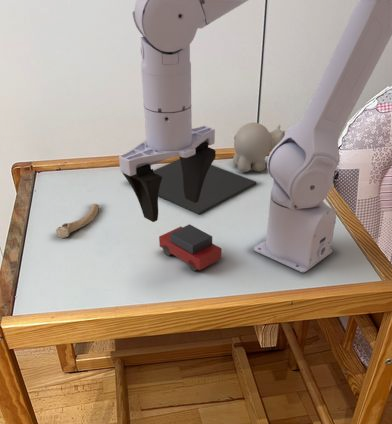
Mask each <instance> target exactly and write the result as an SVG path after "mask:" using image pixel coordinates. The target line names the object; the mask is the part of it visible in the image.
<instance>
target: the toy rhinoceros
mask: <svg viewBox="0 0 392 424" xmlns="http://www.w3.org/2000/svg"><path fill="white" fill-rule="evenodd" d="M285 134H286V131H285V130H281V124H279V125H278V126H277V127H276V129H275V130H272V131H269V130H268V128H267V127H266V126H265V125H263V124H262V123H259V122H248V123H245V124H244V125H242V126H241V127H240V128H239V129H238V130H237V132H236V134H235V135H234V136H233V146H234V147H233V148H234V151H235V153H234V154H233V158H232V163H233V164H234V165H235V166H237V170H238V172H242V173H247V172H250V170H251V169H252V170H253V171H254V172H263V171H265V169H266V157H267V156H269V154H270V152H271V151H272V149H273V148H274V147H275V146H276V145H277V144H278V143H279V142H280V141H281V140H282V139H283V137H284V136H285Z"/></svg>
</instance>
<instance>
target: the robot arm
mask: <svg viewBox="0 0 392 424" xmlns="http://www.w3.org/2000/svg"><path fill="white" fill-rule="evenodd" d="M248 1H249V0H135V3H134V10H133V11H132V13H131V14H132V19H133V22H134V25H135V28H136V29H137V31H138V32H139V34H141V35H142V36H141V37H140V55H141V63H140V69H141V85H142V86H141V87H142V98H143V114H144V127H145V128H144V130H145V140H143V141H141V143H139V144H138V145H136V146H135V147H133V148H132V149H131V150H129V151H128V152H125V153H123V154H120V155H119V156H118V162H119V170H120V172H121V173H122V175H123V176H124V177H125V179H126V181H127V182H128V183H130V184H129V185H130V186H131V188H132V191H133V192H134V193H135V197H136V198H137V201H138V203H139V206H140V209H141V212H142V215H143V218H145V219H146V220H148V221H150V222H152V223H155V222H157V221H158V219H159V196H158V193H159V187H160V183H161V180H162V177H161V176H160V175H157V174H155V173H153V171H154V169H153V168H152V166H153V165H156V164H158V163H161V162H165V161H166V160H169V159H174V158H179V159H180V161H181V166H182V172H183V186H184V195H185V198H186V199H188V200H190V201H192V202H194V203H196V202H198V200H199V197H200V193H201V189H202V186H203V182H204V179H205V176H206V174H207V172H208V170H209V168H210V166H211V165H213V163H214V161H215V159H216V153H217V152H216V149H214V148H211V147H209V146H212V145H214V144H215V141H216V140H215V136H216V130H215V128H213V127H210V126H207V125H201V126H197V127H193V125H192V121H193V120H192V119H193V118H192V64H191V49H190V48H191V44H192V42H193V41H194V39H195V37H196V34H197V31H198V29H203V28H206V26H208V25H210V24H212V23H213V22H215V21H216V20H218V19H220V18H222V17H223V16H225V15H226V14H228V13H230V12H232V11H233V10H235V9H237V8H239V7H240V6H241V5H243V4H245V3H246V2H248ZM391 37H392V0H357V1H356V4H355V5H354V8H353V10H352V12H351V14H350V16H349V19H348V20H347V22H346V25H345V26H344V29H343V31H342V33H341V35H340V38H339V39H338V41H337V43H336V45H335V47H334V50H333V52H332V54H331V57H330V59H329V60H328V63H327V65H326V67H325V69H324V71H323V73H322V75H321V78H320V80H319V82H318V84H317V85H316V89H315V90H314V92H313V94H312V96H311V98H310V101H309V103H308V104H307V107H306V110H305V111H304V114H303V116H302V118H301V119H300V120H299V121H298V122H295V123H294V124H293V125H291V126H289V127H288V128H287V130H286V131H285V136H284V137H283V139H282V140H281V141H280V142H279V143H278V144H277V145H276V146H275V147H274V148H273V149H272V151H269V153H268V157H267V160H266V168H267V172H268V175H269V176H270V177H271V178H272V180H273V181H272V187H271V191H270V197H269V207H268V217H267V229H266V236H265V237H266V238H265V240H263V241H262V242H260V243H259V244H257V245H255V246H254V247H253V251H254V252H256V253H258V254H261V255H263V256H265V257H267V258H269V259H271V260H273V261H276V262H278V263H280V264H282V265H284V266H287V267H289V268H291V269H293V270H295V271H297V272H300V273H303V274H304V273H306V272H308V271H309V270H310V269H312V268H313V267H315V266H316V265H317V264H318V263H320V262H321V261H322V260H324V259H325V258H326V257H328V256H330V255H331V254H332V253H333V249H332V247H331V246H332V242H333V236H334V231H335V227H336V222H337V213H336V210H335V209H333V208H332V207H330V206H329V205H327V204H326V203H325V202H324V200H326V198H327V197H328V196H329V195H330V193H331V191H332V188H333V185H334V177H335V176H334V175H335V172H336V169H337V168H338V166H339V163H340V162H341V161H340V159H341V157H340V148H339V137H340V135H341V133H342V132H343V130H344V127H345V126H346V123H347V122H348V120H349V118H350V116H351V114H352V112H353V111H354V108H355V107H356V104H357V102H358V101H359V99H360V97H361V95H362V93H363V91H364V89H365V87H366V85H367V83H368V81H369V80H370V78H371V76H372V75H373V72H374V70H375V68H376V66H377V64H378V63H379V61H380V59H381V57H382V54H383V53H384V51H385V49H386V47H387V46H388V44H389V42H390V40H391Z"/></svg>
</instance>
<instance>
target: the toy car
mask: <svg viewBox="0 0 392 424" xmlns="http://www.w3.org/2000/svg"><path fill="white" fill-rule="evenodd" d="M158 241H159V242H158V243H159V247H160V248H161V249H162V251H163V253H164V254H165V255H166V256H168V257H169V256H171V255H173V256H175V257H176V258H177V259H180V260H181V261H183V262H185V263H186V264H188V267H189V269H190V270H191V271H192V272H196V271H197V270H198V271H201V270H203V269H205V268H206V267H208V266H210V265H212V264H214V263H216V262H218V261H220V260H221V259H222V247H220V246H218V245H216V244H214V243H213V236H212V235H210V233H207V232H205V231H203V230H201V229H199V228H198V227H196V226H194V225H192V224H190V223H189V224H186V225H185V226H179V227H176V228H175V229H172V230H170V231H168V232H166V233H164V234H162V235H159V236H158Z"/></svg>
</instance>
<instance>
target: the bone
mask: <svg viewBox="0 0 392 424" xmlns="http://www.w3.org/2000/svg"><path fill="white" fill-rule="evenodd" d="M99 208H100V205H99V204H98V203H93V204H92V205H91V208H90V210H89V211H88V213H86V214H85V215H84V216H82V217H81V218H80V219H78V220H75V221H72V222H68V223H67V222H65V223H63V224H62V225H61V226H58V227H57V228H56V229H55V233H56V236H57V237H58V238H59V239H60V238H61V239H64V238H67V237H69V236H70V234H71V233H73V232H75V231H77V230H79V229H82V228H83V227H86V226H87V225H88V224H90V223H92V221H93V220H94V219H95V218H96V217H97V216H98V213H99Z"/></svg>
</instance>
